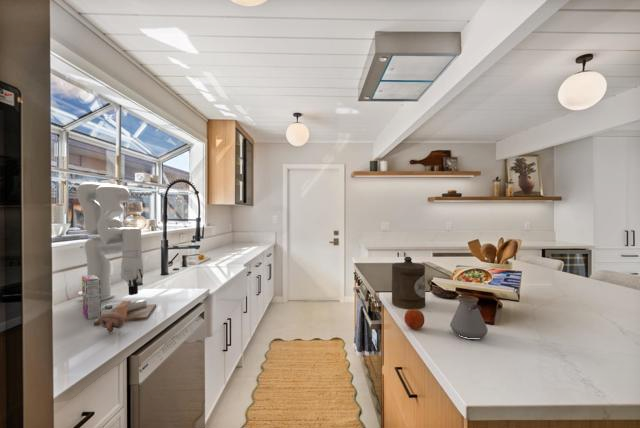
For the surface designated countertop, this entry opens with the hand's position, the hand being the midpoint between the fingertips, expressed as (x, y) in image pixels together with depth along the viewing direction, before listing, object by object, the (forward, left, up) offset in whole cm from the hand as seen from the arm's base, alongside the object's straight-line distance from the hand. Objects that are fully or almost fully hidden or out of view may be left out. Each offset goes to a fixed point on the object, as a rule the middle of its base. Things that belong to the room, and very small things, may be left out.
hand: (133, 294), depth 134 cm
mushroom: (+1, -31, -7) cm, 31 cm away
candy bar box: (-14, -5, -7) cm, 17 cm away
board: (+1, -11, -6) cm, 12 cm away
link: (-1, -9, -5) cm, 10 cm away
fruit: (+105, -65, -7) cm, 124 cm away
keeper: (0, -14, -5) cm, 15 cm away
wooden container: (+120, -40, -7) cm, 127 cm away
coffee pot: (+116, -81, -7) cm, 141 cm away
